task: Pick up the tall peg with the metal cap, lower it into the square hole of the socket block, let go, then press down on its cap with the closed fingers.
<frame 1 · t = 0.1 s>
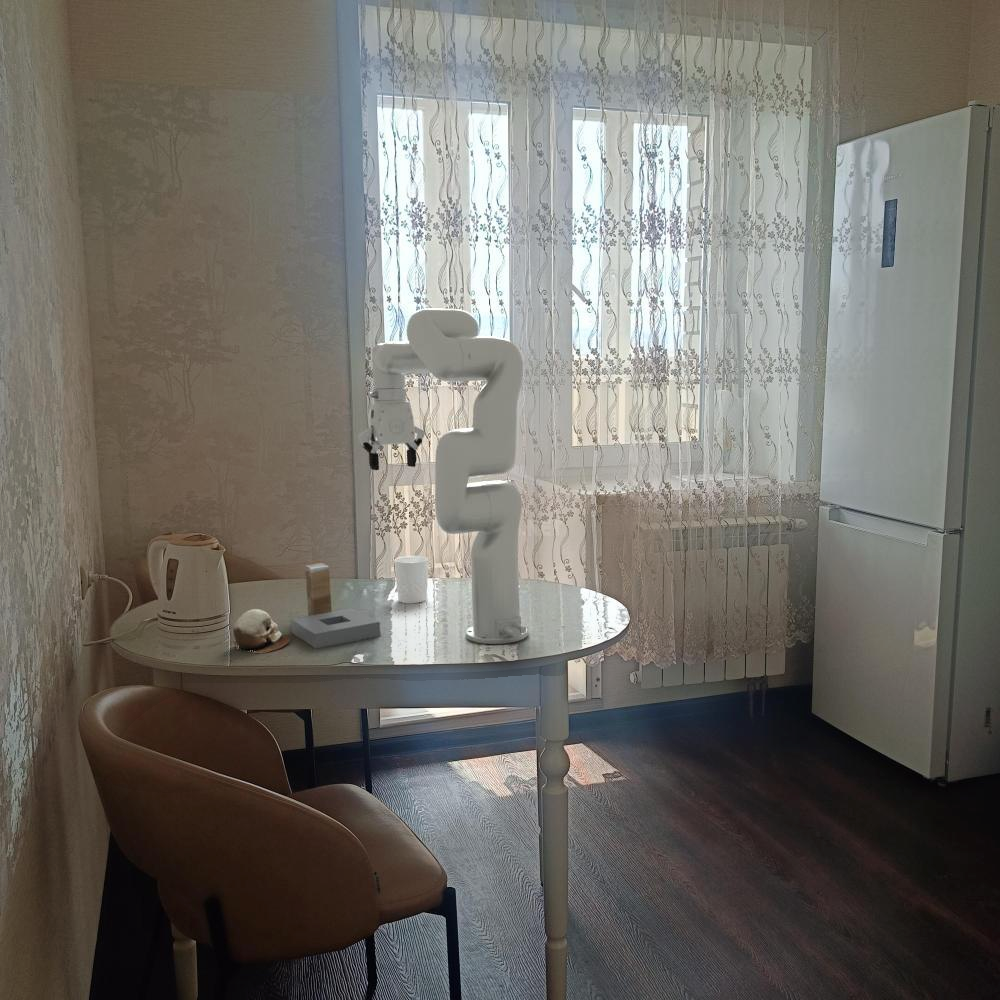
hand: (393, 468, 218), 31 cm above the table, tool pointing down, fingers open, 9 cm apart
skull: (259, 647, 183), on the table
socket: (335, 634, 189), on the table
white cup: (412, 601, 216), on the table
peg: (320, 618, 202), on the table
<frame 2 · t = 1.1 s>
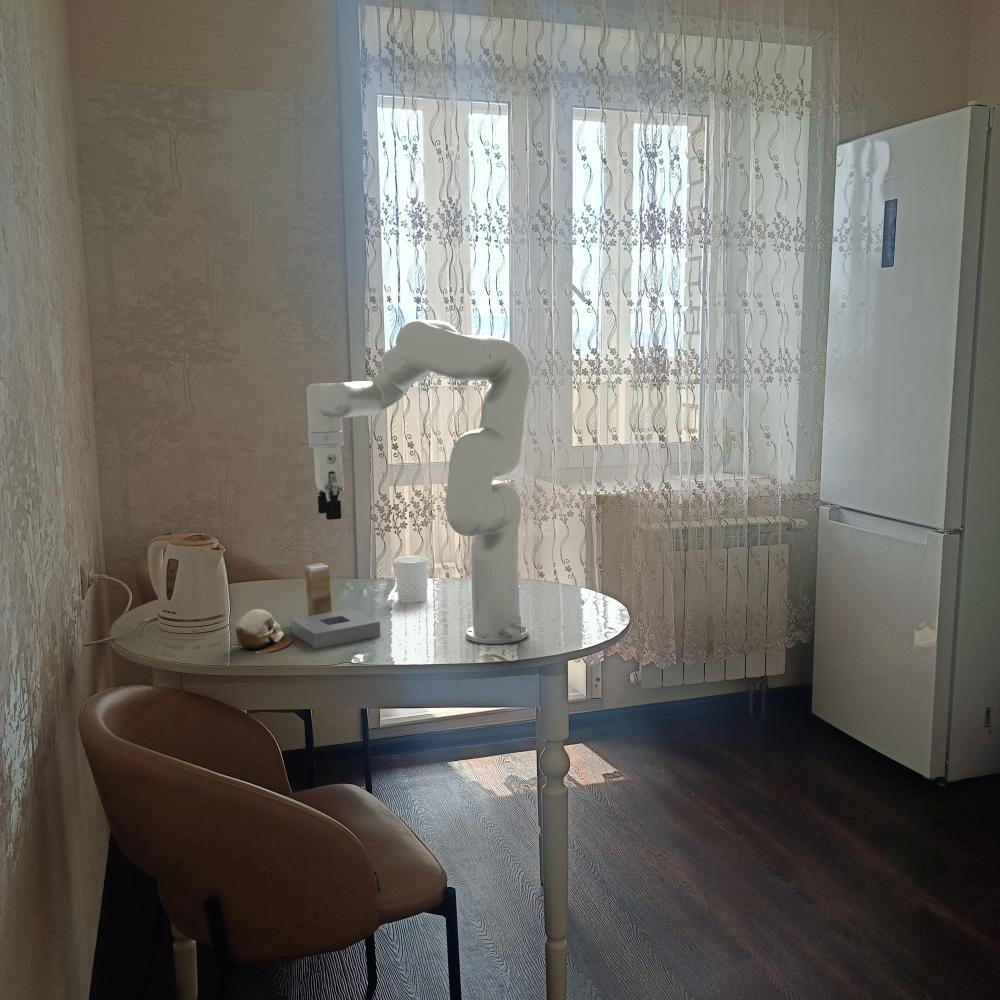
hand: (329, 515, 203), 22 cm above the table, tool pointing down, fingers open, 9 cm apart
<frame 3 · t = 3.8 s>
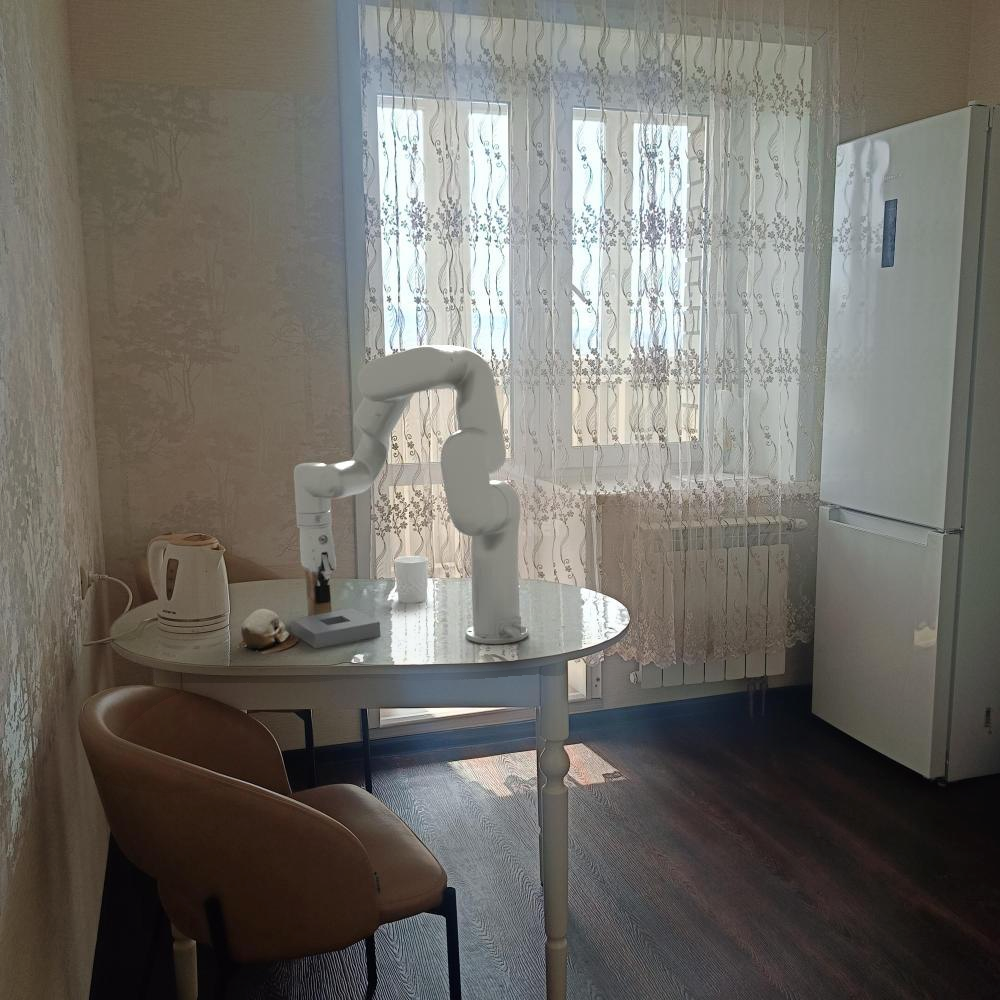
hand: (319, 599, 202), 4 cm above the table, tool pointing down, fingers closed on peg, 4 cm apart
skull: (267, 647, 183), on the table
peg: (320, 618, 202), on the table, touching gripper
everything else where it was.
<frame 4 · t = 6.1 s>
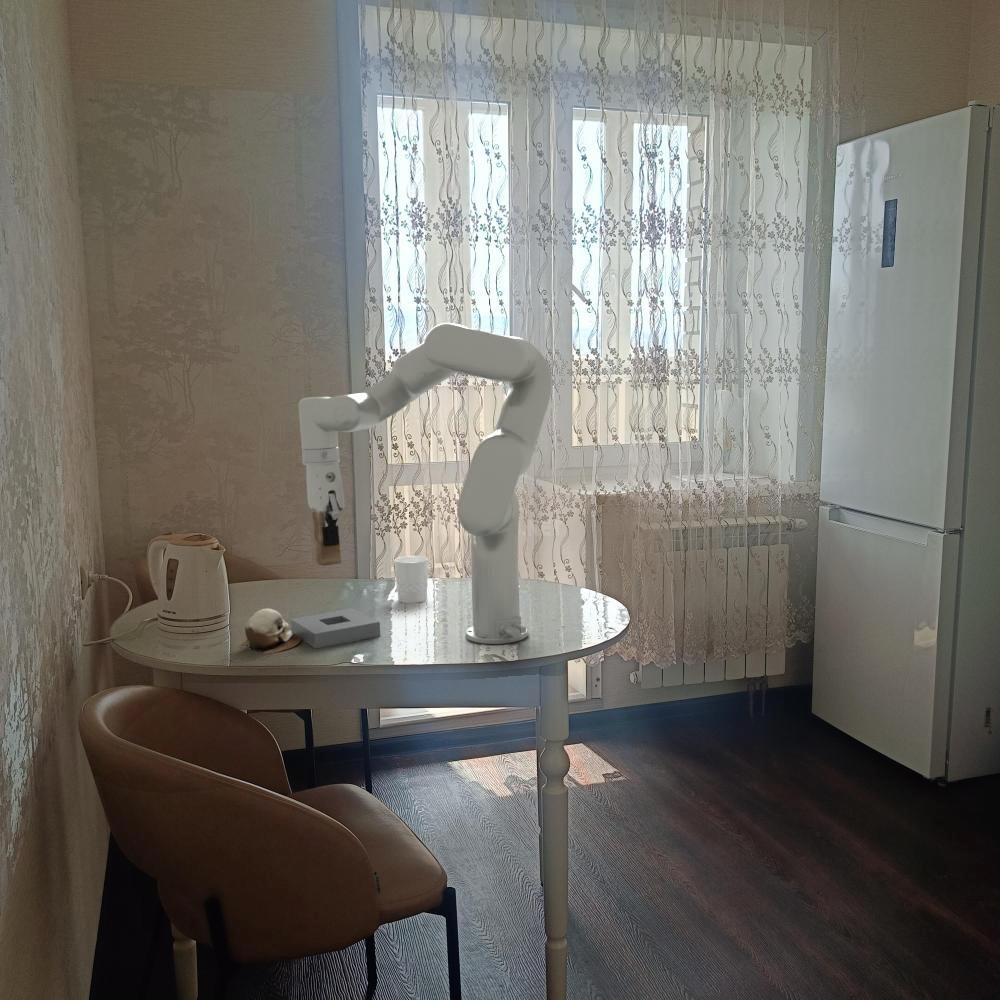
hand: (327, 542, 190), 19 cm above the table, tool pointing down, fingers closed on peg, 4 cm apart
peg: (328, 563, 191), point 14 cm above the table, touching gripper
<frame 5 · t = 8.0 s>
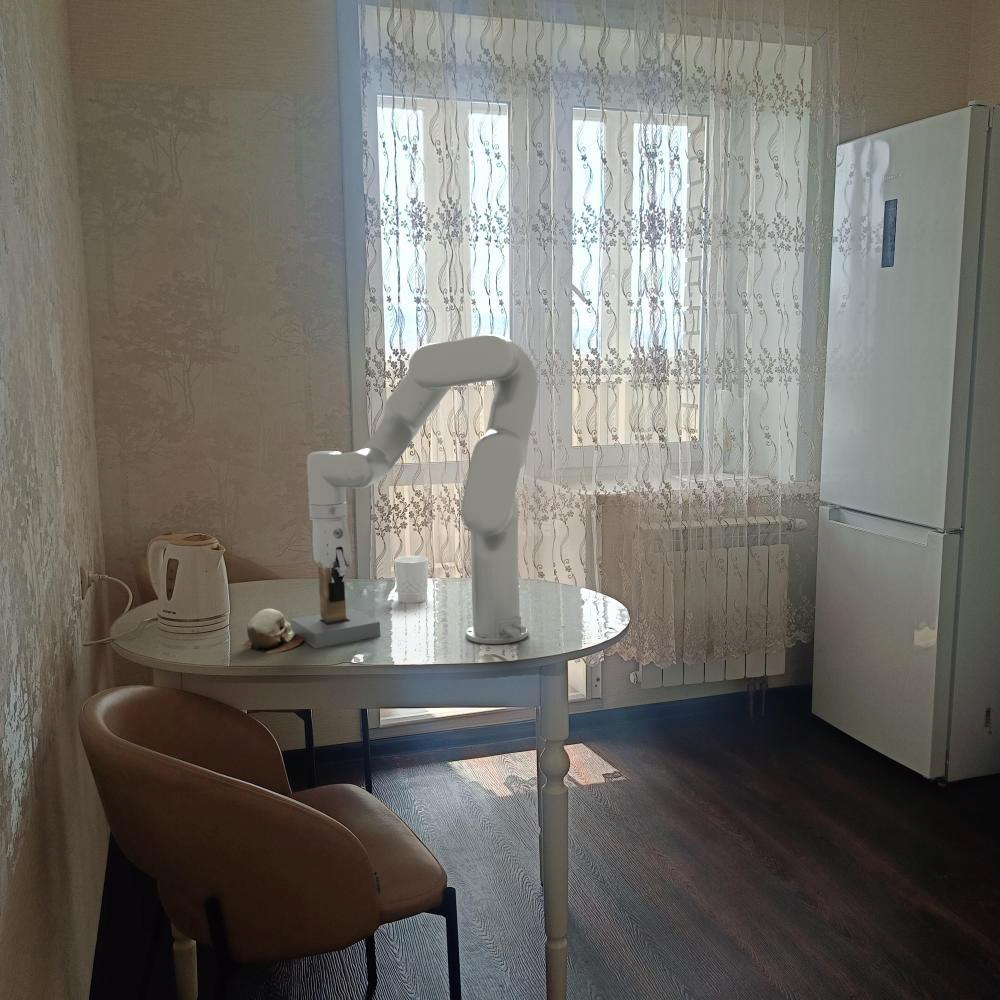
hand: (332, 597, 188), 8 cm above the table, tool pointing down, fingers closed on peg, 4 cm apart
peg: (333, 618, 189), point 3 cm above the table, touching gripper
when the fingers open (5 cm above the table, at t = 8.7 s): peg stays where it is, resting in socket.
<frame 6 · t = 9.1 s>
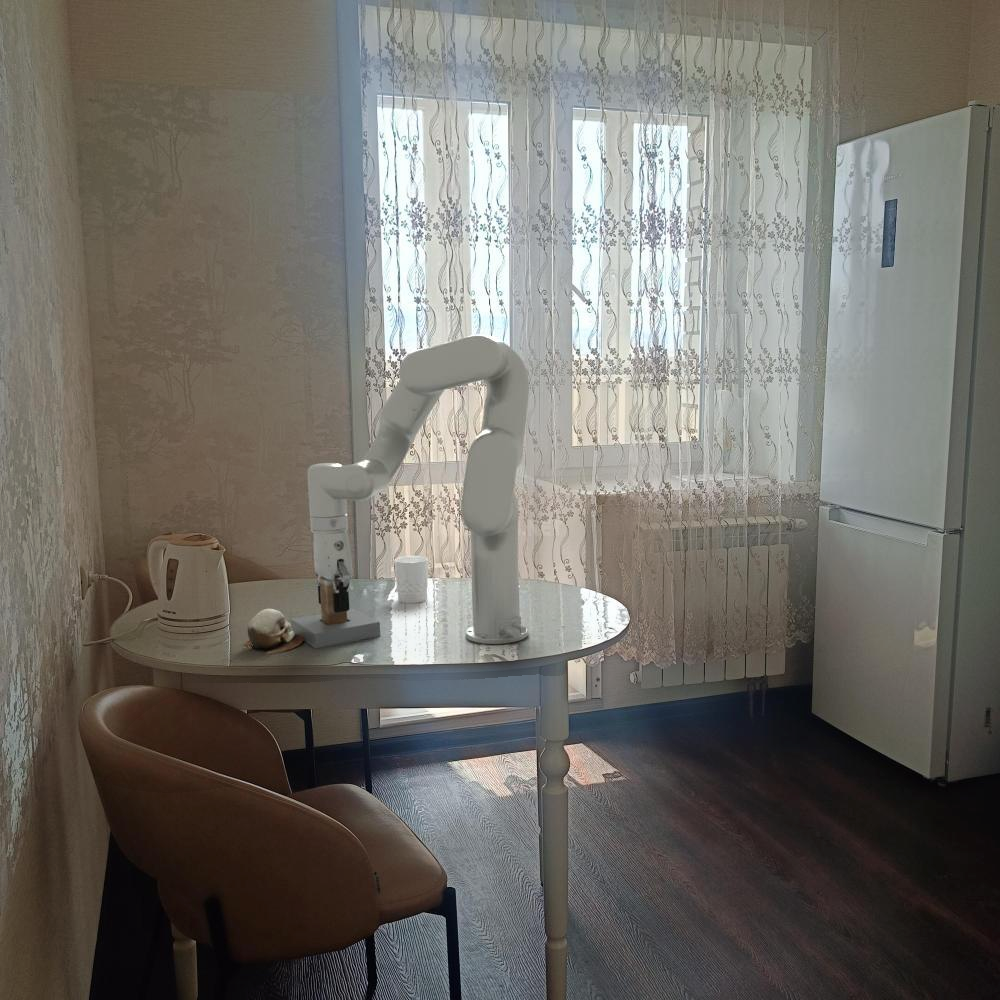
hand: (333, 606, 189), 6 cm above the table, tool pointing down, fingers open, 7 cm apart
peg: (335, 634, 189), resting in socket
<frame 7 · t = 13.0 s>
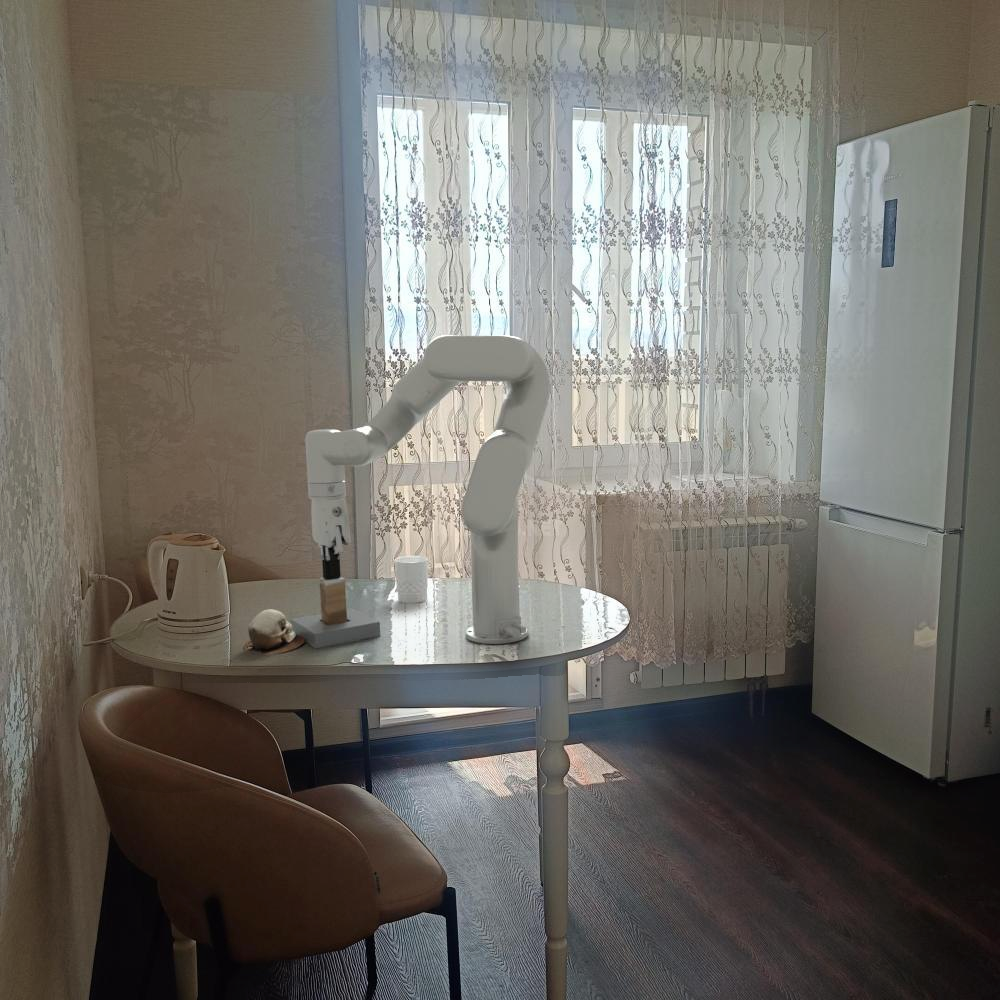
hand: (331, 578, 188), 12 cm above the table, tool pointing down, fingers closed
peg: (335, 634, 189), resting in socket, touching gripper
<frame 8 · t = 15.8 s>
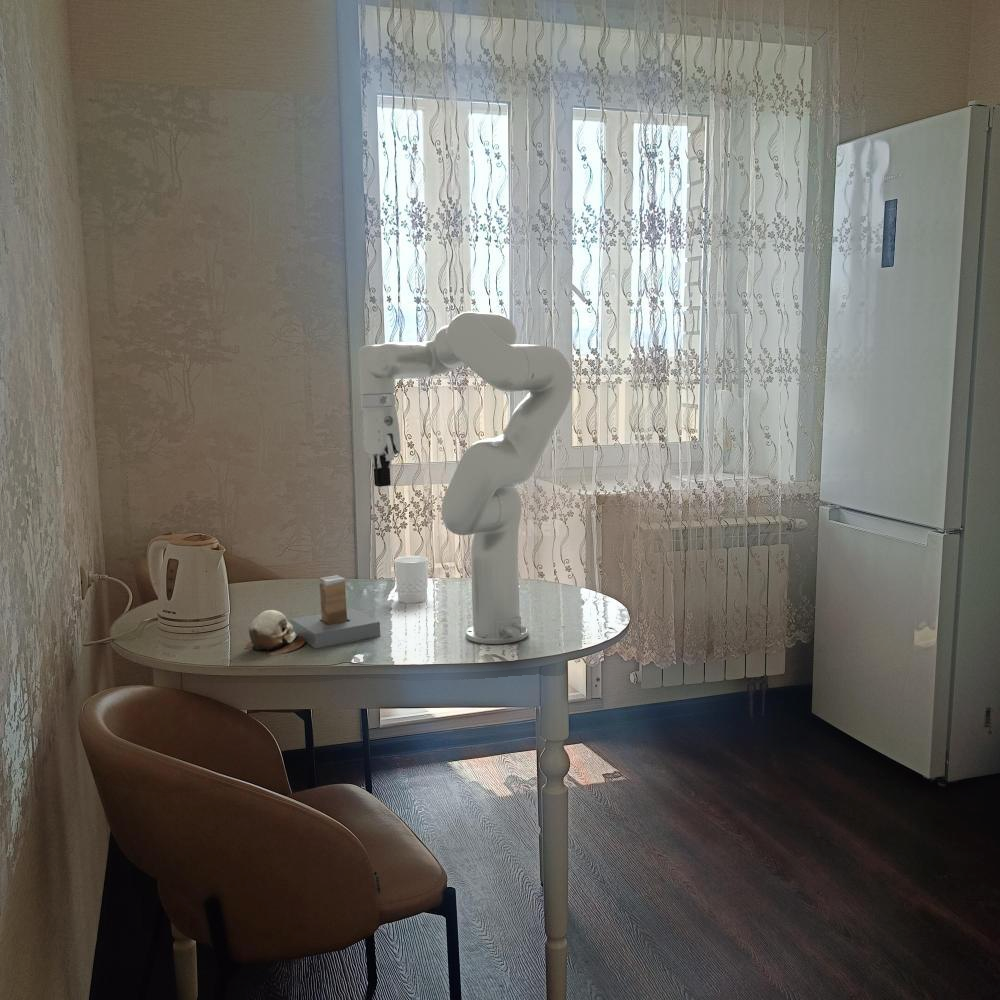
hand: (382, 485, 200), 29 cm above the table, tool pointing down, fingers closed
peg: (335, 634, 189), resting in socket
at the end: peg 0.1 cm off-centre on the socket, point 0.0 cm above the socket's base; peg tilted 0°; the gripper is holding nothing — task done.
